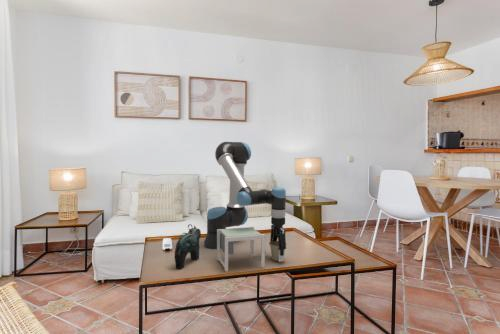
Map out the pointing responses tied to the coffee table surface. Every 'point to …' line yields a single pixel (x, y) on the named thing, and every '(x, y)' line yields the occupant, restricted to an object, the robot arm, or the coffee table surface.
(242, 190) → the robot arm
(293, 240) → the coffee table surface
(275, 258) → the flower pot
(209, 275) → the coffee table surface
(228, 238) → the frame
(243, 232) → the grey l-shaped slab
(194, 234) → the dark green animal figurine
